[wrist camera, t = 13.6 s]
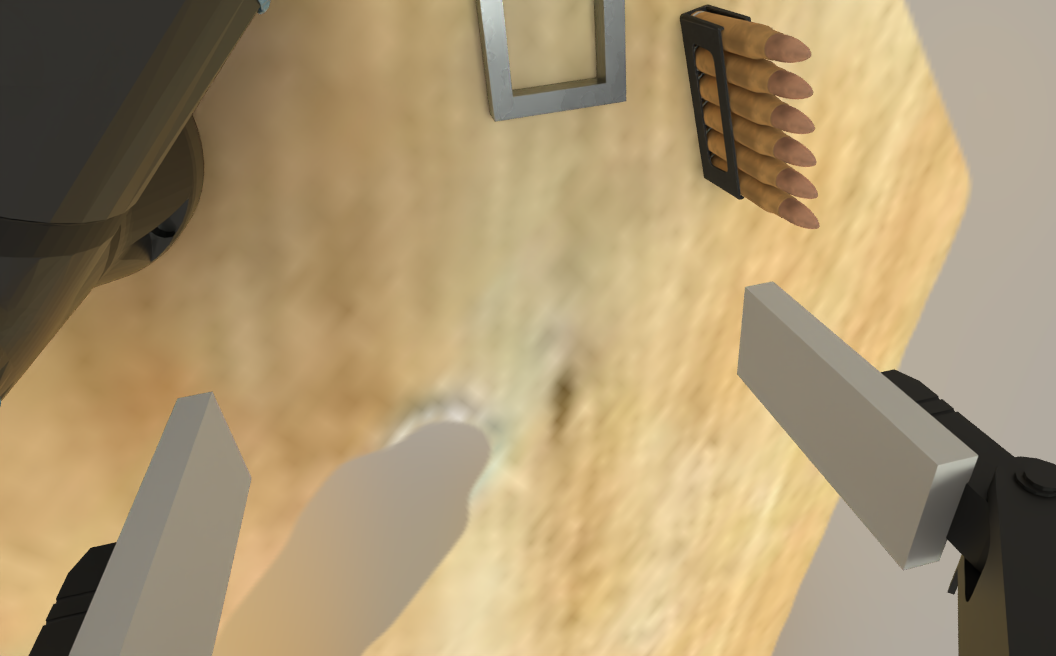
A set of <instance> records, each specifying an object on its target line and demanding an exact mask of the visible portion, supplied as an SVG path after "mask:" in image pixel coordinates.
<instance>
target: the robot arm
mask: <svg viewBox="0 0 1056 656" xmlns="http://www.w3.org/2000/svg"><path fill="white" fill-rule="evenodd" d="M270 1H271V0H0V406H1V401H2V400H3V399H4V397H5V396H6V395H7V394H8V393H9V391H10V390H11V389H12V388H13V386H14V385H15V384H16V383H17V381H18V380H19V379H20V378H21V376H22V375H23V374H24V373H25V371H26V370H27V369H28V368H29V366H30V365H31V364H32V363H33V361H34V360H35V359H36V358H37V356H38V355H39V354H40V353H41V352H42V350H43V349H44V348H45V347H46V345H47V344H48V343H49V342H50V340H51V339H52V338H53V337H54V336H55V334H56V333H57V332H58V331H59V329H60V328H61V327H62V326H63V324H64V323H65V322H66V321H67V320H68V318H69V317H70V316H71V315H72V313H73V312H74V311H75V310H76V308H77V307H78V306H79V305H80V304H81V302H82V301H83V300H84V299H85V297H86V296H87V295H88V294H89V292H90V291H91V290H92V289H93V288H94V287H97V286H100V285H103V284H106V283H109V282H112V281H115V280H118V279H120V278H123V277H126V276H129V275H131V274H133V273H135V272H137V271H139V270H141V269H143V268H145V267H146V266H148V265H149V264H151V263H152V262H154V261H155V260H156V259H158V258H159V257H160V256H161V255H163V254H164V253H165V252H166V251H167V250H168V249H169V248H170V247H171V246H172V245H173V244H174V242H175V241H176V240H177V239H178V237H179V236H180V234H181V233H182V231H183V230H184V228H185V227H186V225H187V224H188V222H189V221H190V219H191V217H192V216H193V213H194V211H195V209H196V207H197V204H198V202H199V199H200V195H201V191H202V185H203V176H204V160H203V151H202V145H201V141H200V137H199V133H198V130H197V127H196V124H195V121H194V119H193V116H192V114H193V112H194V110H195V109H196V107H197V106H198V104H199V103H200V101H201V99H202V98H203V96H204V95H205V93H206V91H207V90H208V88H209V87H210V85H211V84H212V82H213V80H214V79H215V77H216V76H217V74H218V72H219V71H220V69H221V68H222V66H223V65H224V63H225V61H226V60H227V58H228V57H229V55H230V54H231V52H232V50H233V49H234V47H235V46H236V44H237V42H238V41H239V39H240V38H241V36H242V35H243V33H244V31H245V30H246V28H247V27H248V25H249V23H250V22H251V20H252V19H253V17H254V16H255V14H256V12H257V13H259V14H263V13H265V12H266V11H267V9H268V8H269V5H270ZM737 374H738V376H739V377H740V378H741V379H742V380H743V382H744V383H745V384H746V385H747V386H748V387H749V389H750V390H751V391H752V392H753V393H754V395H755V396H756V397H757V398H758V399H759V400H760V402H761V403H762V404H763V405H764V406H765V408H766V409H767V410H768V411H769V412H770V414H771V415H772V416H773V417H774V418H775V419H776V421H777V422H778V423H779V424H780V425H781V427H782V428H783V429H784V430H785V431H786V432H787V434H788V435H789V436H790V437H791V438H792V440H793V441H794V442H795V443H796V444H797V445H798V447H799V448H800V449H801V450H802V451H803V453H804V454H805V455H806V456H807V457H808V458H809V460H810V461H811V462H812V463H813V464H814V466H815V467H816V468H817V469H818V470H819V471H820V473H821V474H822V475H823V476H824V477H825V479H826V480H827V481H828V482H829V483H830V484H831V486H832V487H833V488H834V489H835V490H836V492H837V493H838V494H839V495H840V496H841V497H842V499H843V500H844V501H845V502H846V503H847V505H848V506H849V507H850V508H851V509H852V510H853V512H854V513H855V514H856V515H857V516H858V518H859V519H860V520H861V521H862V522H863V523H864V525H865V526H866V527H867V528H868V529H869V531H870V532H871V533H872V534H873V535H874V536H875V538H876V539H877V540H878V541H879V542H880V544H881V545H882V546H883V547H884V548H885V549H886V551H887V552H888V553H889V554H890V555H891V557H892V558H893V559H894V560H895V561H896V562H897V564H898V565H899V566H900V567H901V568H902V569H903V570H907V569H911V568H915V567H918V566H922V565H926V564H929V563H933V562H937V561H939V560H940V558H941V555H942V552H943V549H944V547H945V544H946V541H947V539H948V540H949V541H950V542H951V543H952V545H953V546H954V547H955V548H956V549H957V550H958V551H959V552H960V553H961V554H962V555H961V558H960V561H959V563H958V566H957V568H956V571H955V573H954V576H953V579H952V581H951V583H950V586H949V589H948V593H951V594H955V591H956V589H957V587H958V638H959V639H958V640H959V641H958V642H959V643H958V644H959V656H1056V465H1055V464H1053V463H1050V462H1046V461H1043V460H1040V459H1037V458H1029V457H1014V456H1012V455H1011V454H1010V453H1009V452H1007V451H1006V450H1005V449H1004V448H1002V447H1001V446H1000V445H998V444H997V443H996V442H995V441H994V440H992V439H991V438H990V437H989V436H987V435H986V434H985V433H984V432H982V431H981V430H980V429H979V428H977V427H976V426H975V425H974V424H972V423H971V422H970V421H968V420H967V419H966V418H965V417H964V416H962V415H961V414H960V413H959V412H955V411H954V409H953V408H952V407H951V406H950V405H949V404H948V403H946V402H945V401H944V400H942V399H941V400H940V399H939V398H938V396H937V395H936V394H935V393H934V392H932V391H931V390H930V389H929V388H928V387H926V386H925V385H924V384H922V383H921V382H920V381H918V380H916V379H914V378H912V377H910V376H907V375H905V374H903V373H901V372H899V371H897V370H889V371H885V372H879V371H878V370H877V369H876V368H875V367H873V366H872V365H871V364H870V363H869V362H868V361H866V360H865V359H864V358H863V357H862V356H860V355H859V354H858V353H857V352H856V351H855V350H853V349H852V348H851V347H850V346H849V345H847V344H846V343H845V342H844V341H843V340H842V339H840V338H839V337H838V336H837V335H836V334H834V333H833V332H832V331H831V330H830V329H829V328H827V327H826V326H825V325H824V324H823V323H821V322H820V321H819V320H818V319H817V318H816V317H814V316H813V315H812V314H811V313H810V312H808V311H807V310H806V309H805V308H804V307H803V306H801V305H800V304H799V303H798V302H797V301H795V300H794V299H793V298H792V297H791V296H790V295H788V294H787V293H786V292H785V291H784V290H782V289H781V288H780V287H779V286H778V285H777V284H775V283H774V282H768V283H763V284H758V285H753V286H748V287H745V294H744V305H743V316H742V326H741V337H740V348H739V358H738V369H737ZM250 483H251V475H250V473H249V471H248V469H247V467H246V464H245V462H244V460H243V458H242V456H241V453H240V451H239V449H238V447H237V445H236V442H235V440H234V438H233V436H232V434H231V431H230V429H229V427H228V425H227V423H226V420H225V418H224V416H223V414H222V412H221V409H220V407H219V405H218V403H217V401H216V398H215V396H214V394H213V392H208V393H203V394H198V395H193V396H188V397H183V398H178V399H177V401H176V404H175V406H174V408H173V411H172V413H171V415H170V418H169V420H168V422H167V425H166V427H165V430H164V432H163V434H162V437H161V439H160V441H159V444H158V446H157V448H156V451H155V453H154V455H153V458H152V460H151V463H150V465H149V467H148V470H147V472H146V474H145V477H144V479H143V481H142V484H141V486H140V488H139V491H138V493H137V496H136V498H135V500H134V503H133V505H132V507H131V510H130V512H129V514H128V517H127V519H126V522H125V524H124V526H123V529H122V531H121V533H120V536H119V538H118V540H117V542H115V543H111V544H106V545H102V546H97V547H92V548H90V549H89V550H88V552H87V553H86V554H85V555H84V556H83V557H82V558H81V559H80V561H79V562H78V563H77V564H76V565H75V566H74V567H73V568H72V570H71V571H70V572H69V573H68V575H67V577H66V579H65V581H64V583H63V585H62V587H61V589H60V592H59V594H58V596H57V598H56V600H57V602H56V604H53V606H52V608H51V610H50V612H49V614H48V617H47V619H46V625H44V626H43V627H42V629H41V631H40V633H39V635H38V637H37V639H36V642H35V644H34V646H33V648H32V650H31V652H30V654H29V656H212V653H213V648H214V644H215V640H216V635H217V631H218V626H219V622H220V617H221V613H222V608H223V604H224V599H225V595H226V590H227V586H228V581H229V577H230V572H231V568H232V563H233V559H234V554H235V550H236V546H237V541H238V537H239V532H240V528H241V523H242V519H243V514H244V510H245V505H246V501H247V496H248V492H249V487H250Z"/></svg>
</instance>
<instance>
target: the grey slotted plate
mask: <svg viewBox="0 0 1056 656" xmlns="http://www.w3.org/2000/svg"><path fill="white" fill-rule="evenodd" d="M476 7H477V15H478V23H479V31H480V38H481V46H482V54H483V62H484V70H485V78H486V86H487V93H488V101H489V109H490V115H491V116H492V118H493V119H494V121H501V120H508V119H514V118H521V117H527V116H534V115H540V114H546V113H553V112H559V111H566V110H572V109H579V108H585V107H592V106H598V105H605V104H611V103H618V102H624V101H626V58H625V0H594V8H595V34H596V60H597V78H591V79H585V80H578V81H571V82H565V83H558V84H551V85H544V86H538V87H531V88H524V89H518V90H512V85H511V75H510V66H509V57H508V47H507V38H506V29H505V19H504V10H503V1H502V0H476Z"/></svg>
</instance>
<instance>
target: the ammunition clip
mask: <svg viewBox="0 0 1056 656" xmlns="http://www.w3.org/2000/svg"><path fill="white" fill-rule="evenodd" d="M680 22H681V29H682V35H683V42H684V48H685V55H686V61H687V68H688V75H689V81H690V88H691V94H692V101H693V107H694V114H695V121H696V127H697V134H698V140H699V147H700V153H701V160H702V167H703V173H704V178H706V179H707V180H709V181H710V182H712V183H714V184H715V185H717V186H718V187H720V188H722V189H723V190H725V191H726V192H728V193H729V194H731V195H733V196H734V197H736V198H737V199H739V200H740V199H743V198H744V197H746V198H747V199H749V200H750V201H752V202H753V203H755V204H756V205H758V206H759V207H761V208H762V209H764V210H765V211H767V212H770V213H774V214H776V215H778V216H780V217H781V218H784V219H786V220H787V221H789V222H790V223H793V224H795V225H797V226H800V227H803V228H808V229H817V228H819V222H818V220H817V218H816V217H815V215H814V214H813V213H812V212H811V210H810V209H808V208H807V207H806V206H805V205H804V204H802V203H801V202H799V201H798V200H797V199H796V198H794V197H793V196H791V195H794V196H797V197H800V198H807V199H813V198H817V197H818V193H817V190H816V188H815V187H814V185H813V184H812V183H811V182H810V181H809V180H808V179H807V178H806V177H804V176H803V175H802V174H800V173H799V172H797V171H795V170H794V169H793V168H792V167H790V166H788V165H787V164H786V163H789V164H792V165H796V166H802V167H810V166H814V165H816V159H815V157H814V155H813V154H812V153H811V151H810V150H809V149H808V148H806V147H805V146H804V145H802V144H801V143H800V142H798V141H796V140H794V139H792V138H791V137H790V136H788V135H786V134H785V133H783V131H786V132H790V133H796V134H807V133H811V132H813V131H814V130H815V127H814V124H813V123H812V121H811V120H810V119H809V118H808V117H807V116H806V115H805V114H804V113H802V112H801V111H799V110H798V109H796V108H794V107H792V106H789V105H788V104H786V103H784V102H782V101H781V100H780V99H779V98H777V97H776V96H779V97H783V98H788V99H804V98H808V97H810V96H812V95H813V90H812V88H811V86H810V85H809V84H808V83H807V82H806V81H805V80H803V79H802V78H801V77H799V76H797V75H796V74H794V73H791V72H788V71H786V70H785V69H782V68H780V67H777V66H776V65H775V64H774V63H773V62H771V61H769V60H775V61H779V62H787V63H793V62H800V61H804V60H806V59H808V58H810V57H811V52H810V49H809V48H808V47H807V46H806V45H805V44H804V43H802V42H801V41H800V40H798V39H796V38H794V37H792V36H788V35H784V34H783V33H780V32H777V31H774V30H773V29H772V28H770V27H769V26H766V25H762V24H758V23H754V22H751V18H750V17H748V16H745V15H741V14H738V13H735V12H731V11H728V10H725V9H721V8H718V7H714V6H711V5H705V6H703V7H700V8H697V9H695V10H692V11H689V12H686V13H684V14H682V15H681V17H680ZM765 59H768V60H765ZM775 95H776V96H775ZM782 130H783V131H782ZM785 162H786V163H785ZM790 194H791V195H790ZM742 195H743V196H744V197H743V196H742Z"/></svg>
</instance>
